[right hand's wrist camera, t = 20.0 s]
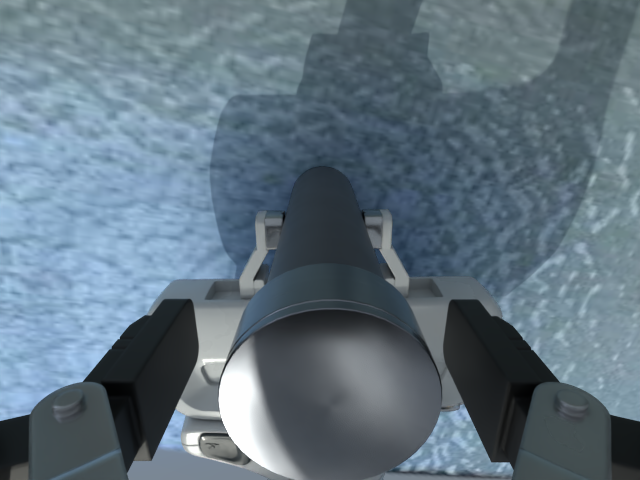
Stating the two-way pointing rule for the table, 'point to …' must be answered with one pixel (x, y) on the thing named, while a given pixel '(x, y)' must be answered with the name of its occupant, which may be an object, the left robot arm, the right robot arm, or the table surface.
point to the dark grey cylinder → (323, 226)
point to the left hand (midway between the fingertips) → (322, 212)
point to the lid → (329, 376)
